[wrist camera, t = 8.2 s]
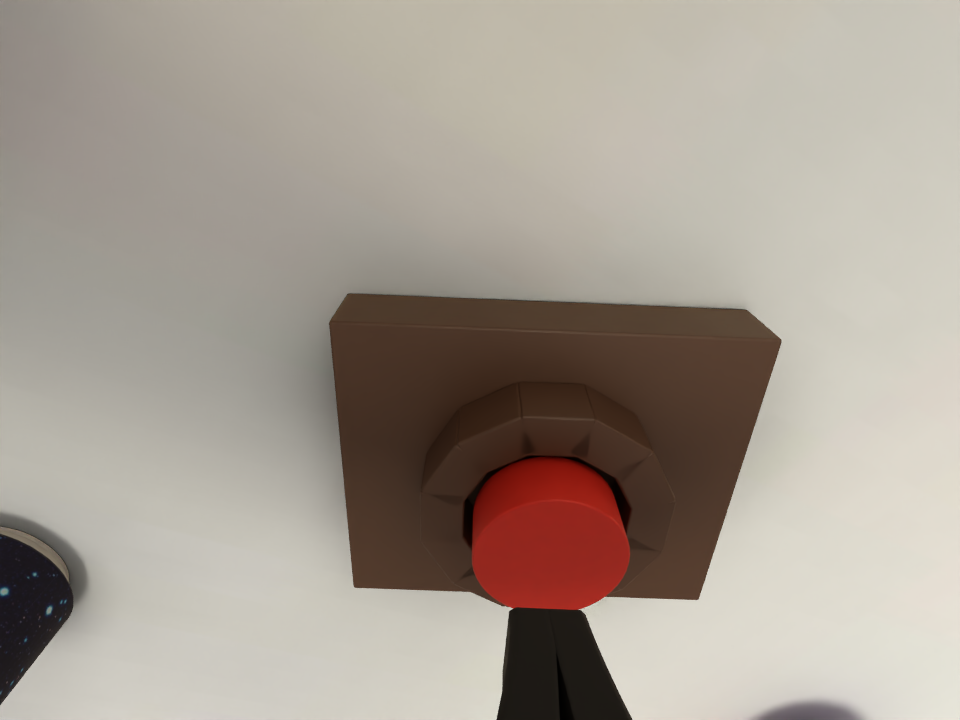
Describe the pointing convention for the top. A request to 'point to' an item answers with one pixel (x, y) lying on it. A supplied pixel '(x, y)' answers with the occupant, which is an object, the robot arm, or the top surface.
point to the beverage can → (28, 602)
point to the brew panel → (541, 425)
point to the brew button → (548, 535)
